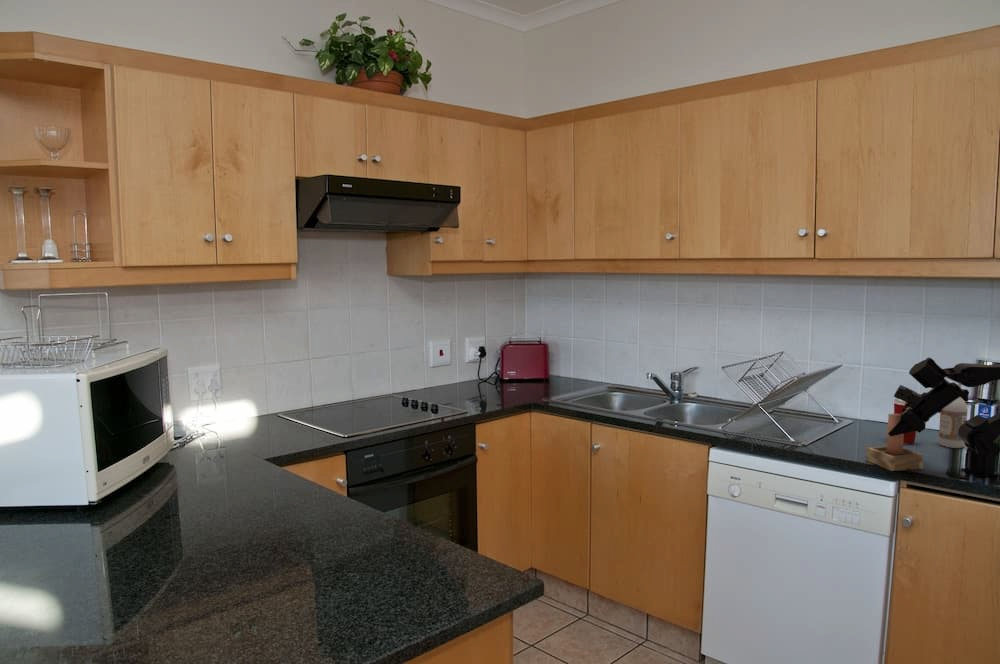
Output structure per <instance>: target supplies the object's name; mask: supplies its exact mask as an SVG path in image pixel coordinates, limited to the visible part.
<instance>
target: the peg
mask: <svg viewBox="0 0 1000 664" xmlns="http://www.w3.org/2000/svg"><path fill="white" fill-rule="evenodd" d="M900 420H901V414H894V413H888V417H887V438H886V439H887V440H886V441H887V442H886V446H887V454H889V455H891V456H898V455H903V448H904V444H903V437H904V434H899V435H895V436H890V435H889V434H888V433H889V432H890V431H891V430H892V429H893V428H894V427H895V426H896V424H897V423H898V422H899V421H900Z"/></svg>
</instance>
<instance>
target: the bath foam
mask: <svg viewBox="0 0 1000 664" xmlns="http://www.w3.org/2000/svg"><path fill="white" fill-rule="evenodd" d="M952 382H954V383H956V384H957V385H958V386H959V387H960V388H961V389H962V385H961V384H959V383H957V382H955V381H952ZM952 382H949V383H952ZM939 414H940V415H939V429H938V430H939V431H938V433H939V434H938V444H939V445H940V446H941V445H942V446H941V447H944V446H945V448H950V449H951V448H952V449H962V448H965V447H966V446H965V443H964V441H962V440H961V439H960V437H959V435H958V431H959V427H960V426H961V425H962V424H964V422H963V421H967V420H968V406H967V402H965V401H964V400H963V399H962V398H961V397H959V398H958V399H956V400H955V401H953V402H952V403H951V404H949V405H948V406H946V407H945V408H944V409H942V412H940V413H939Z"/></svg>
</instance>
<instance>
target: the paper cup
mask: <svg viewBox="0 0 1000 664" xmlns="http://www.w3.org/2000/svg"><path fill="white" fill-rule="evenodd" d="M892 403H893V414H901V413H902V409H903V407H905V408H906V409H907V408H908V406H905V403H906V402H905V401H903V400H901V399H897V398H895V397H894V398H893V401H892ZM916 435H917V431H913V432H909V433H904V437H903V445H914V444H915V442H916V437H917V436H916ZM913 443H914V444H913Z"/></svg>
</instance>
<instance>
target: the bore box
mask: <svg viewBox="0 0 1000 664" xmlns="http://www.w3.org/2000/svg"><path fill="white" fill-rule="evenodd" d="M866 460H867V461H866ZM865 461H866V462H868V461H869V462H868V463H870V462H872V463H871V464H873V463H874V465H875V464H877V465H879V466H878V467H880V468H883V469H886V470H888V471H890V472H894V471H895V472H897V471H907V470H906V469H911V470H920V469H921V470H922V469H923V463H924V462H923V461H924V454H922V453H919V452H916V451H913V450H911V449H908V448H905V447H903V455H898V456H891V455H889V454H887V445H885V446H870V447H866V457H865ZM877 465H876V466H877Z"/></svg>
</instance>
